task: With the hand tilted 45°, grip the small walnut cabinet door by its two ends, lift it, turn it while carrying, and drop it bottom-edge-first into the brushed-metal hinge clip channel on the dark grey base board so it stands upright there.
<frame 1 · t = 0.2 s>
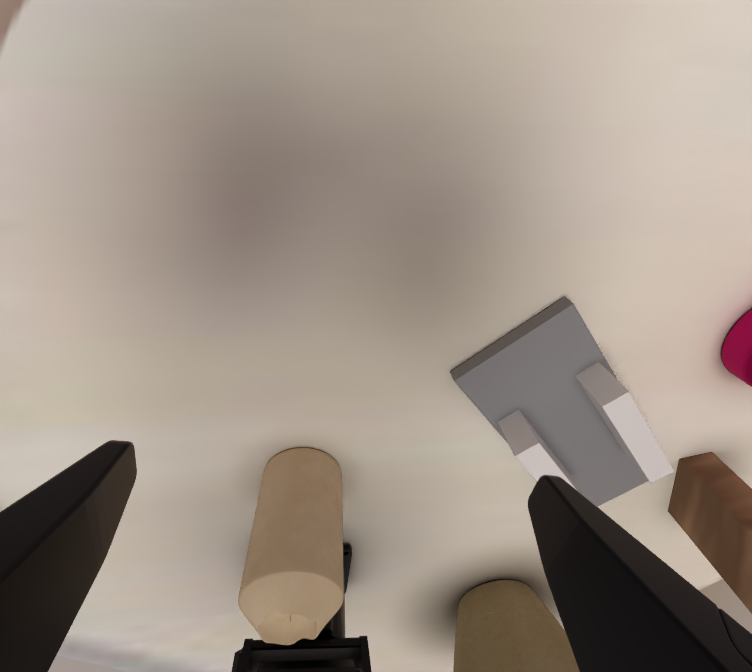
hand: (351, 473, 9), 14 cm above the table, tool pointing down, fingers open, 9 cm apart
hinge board: (566, 420, 28), on the table
plant pot: (493, 598, 40), on the table
door: (688, 483, 33), on the table
candle: (303, 472, 29), on the table
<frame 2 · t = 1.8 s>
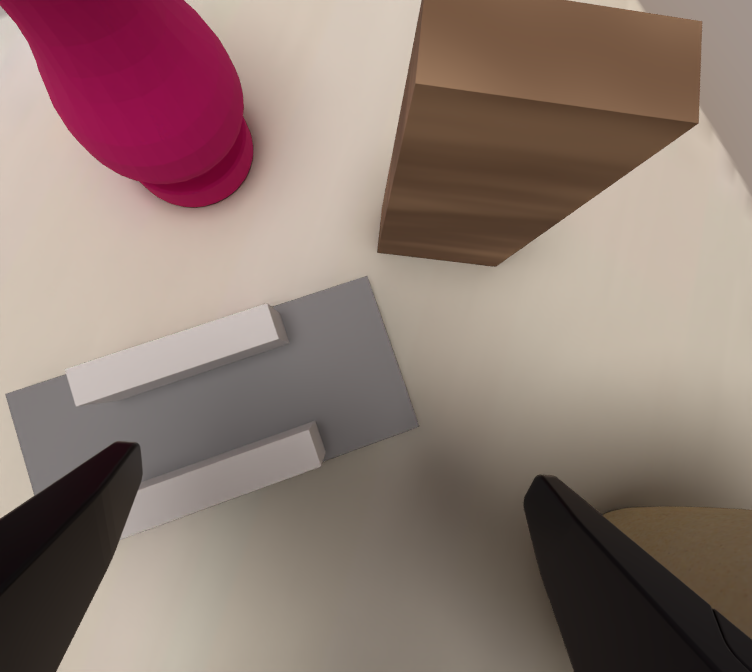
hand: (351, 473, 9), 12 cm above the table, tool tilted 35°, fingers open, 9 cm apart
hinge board: (224, 408, 21), on the table
plant pot: (630, 581, 21), on the table, touching gripper
door: (439, 237, 22), on the table
pepper mill: (195, 153, 22), on the table
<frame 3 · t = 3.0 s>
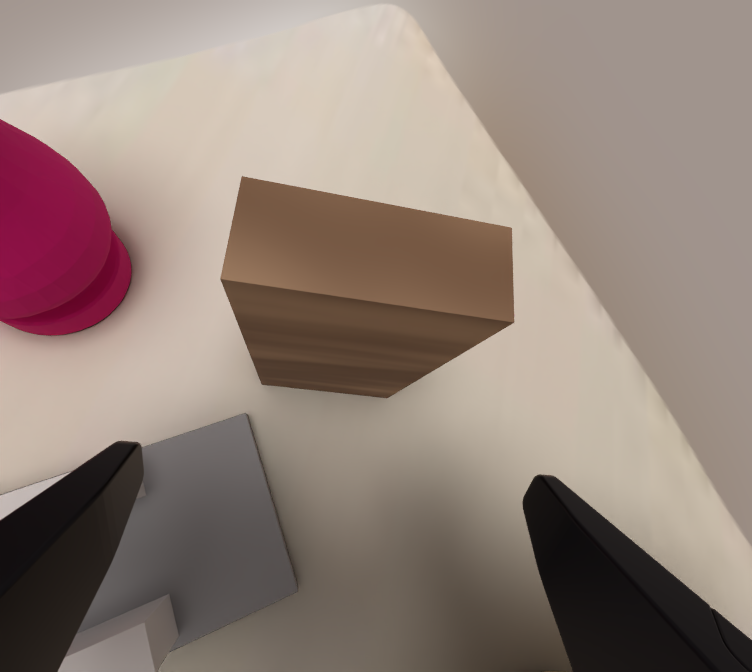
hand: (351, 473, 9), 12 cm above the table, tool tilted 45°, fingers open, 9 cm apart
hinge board: (54, 582, 17), on the table
door: (328, 367, 21), on the table
pepper mill: (64, 277, 20), on the table
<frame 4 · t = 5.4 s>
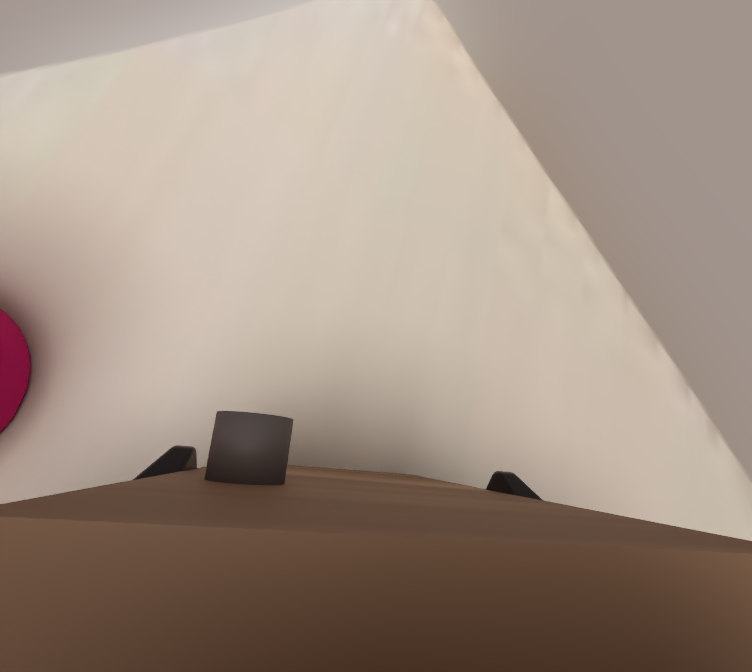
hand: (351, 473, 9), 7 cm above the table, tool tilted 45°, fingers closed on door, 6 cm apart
door: (321, 504, 15), on the table, touching gripper
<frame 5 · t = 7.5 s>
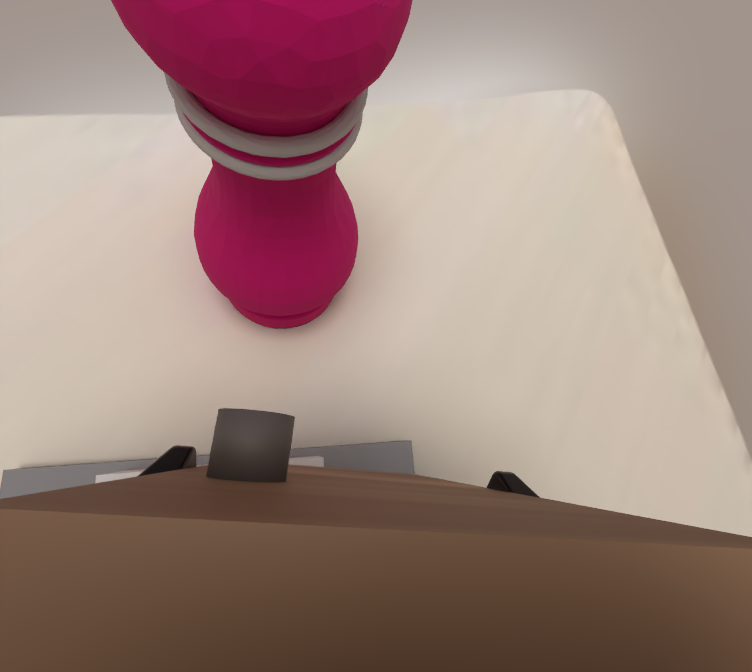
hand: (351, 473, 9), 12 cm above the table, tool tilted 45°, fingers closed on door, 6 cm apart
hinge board: (228, 542, 19), on the table
door: (322, 503, 15), point 6 cm above the table, touching gripper
pepper mill: (281, 277, 23), on the table
when the fingers open (9 cm above the table, at t = 9.7 s): door drops 1 cm, resting on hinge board.
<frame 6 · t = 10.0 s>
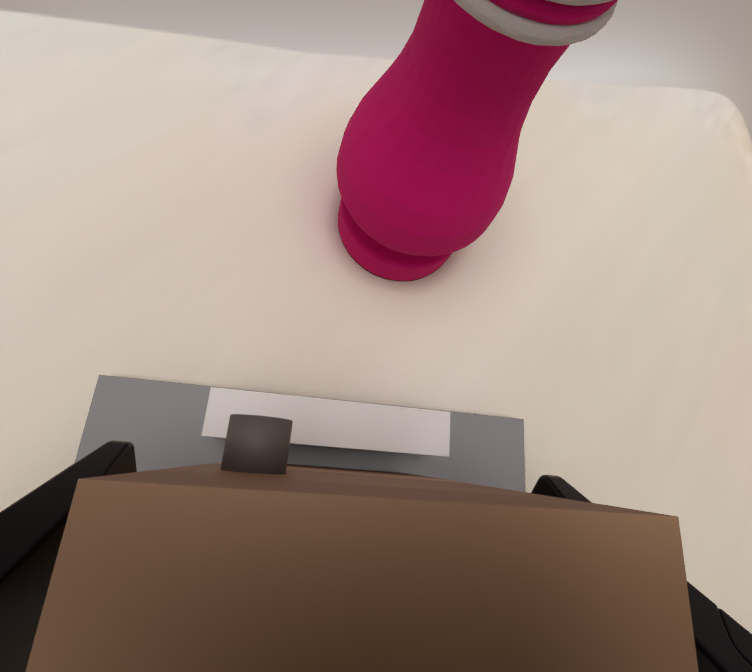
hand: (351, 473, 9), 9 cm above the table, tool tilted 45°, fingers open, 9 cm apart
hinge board: (317, 496, 17), on the table
door: (319, 499, 16), point 1 cm above the table, touching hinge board
pepper mill: (395, 229, 22), on the table
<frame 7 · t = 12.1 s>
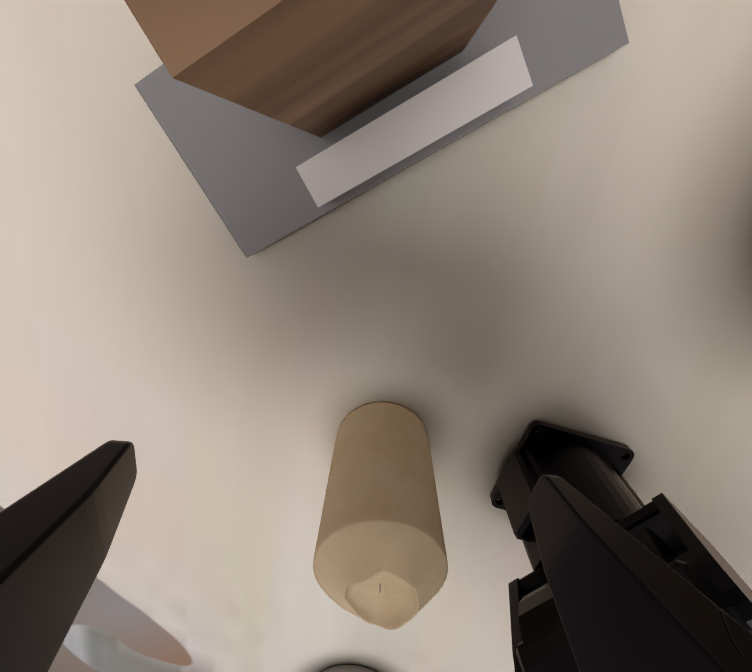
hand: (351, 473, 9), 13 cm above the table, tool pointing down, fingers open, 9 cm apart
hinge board: (375, 69, 17), on the table
door: (374, 64, 16), point 1 cm above the table, touching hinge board
candle: (382, 437, 25), on the table
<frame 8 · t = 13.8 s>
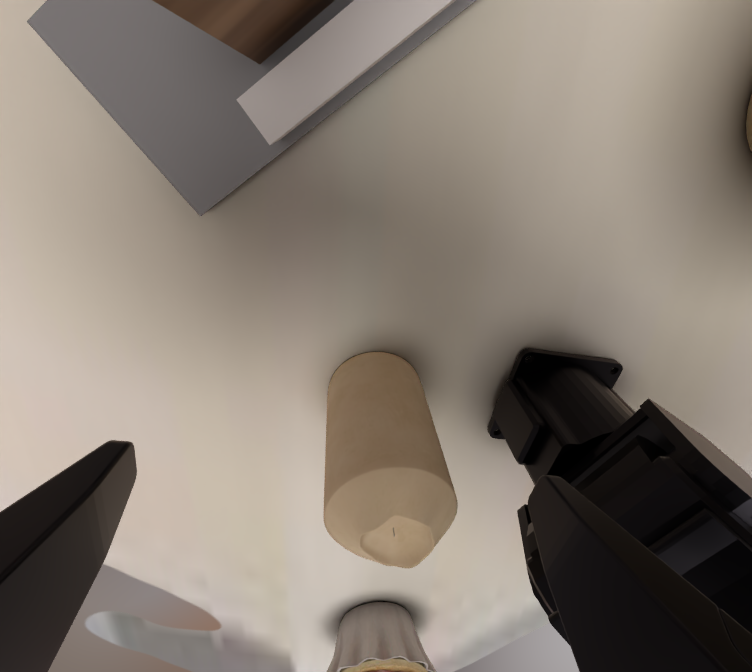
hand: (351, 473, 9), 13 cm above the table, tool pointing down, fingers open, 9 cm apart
cupcake: (374, 617, 37), on the table
candle: (374, 387, 24), on the table
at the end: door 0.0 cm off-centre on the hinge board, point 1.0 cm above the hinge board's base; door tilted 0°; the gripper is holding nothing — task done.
